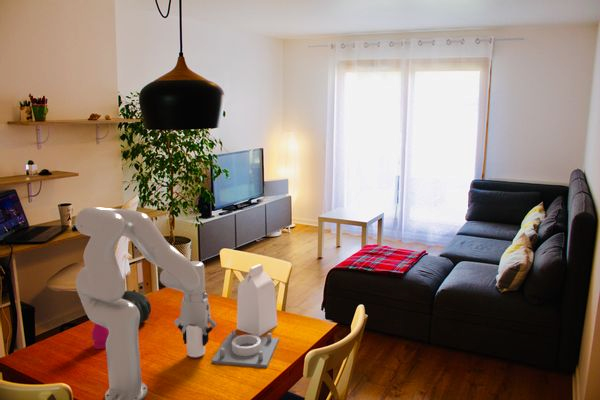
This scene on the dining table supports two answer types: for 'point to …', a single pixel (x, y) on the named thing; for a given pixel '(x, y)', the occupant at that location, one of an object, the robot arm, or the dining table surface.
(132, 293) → the squash
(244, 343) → the carrier plate
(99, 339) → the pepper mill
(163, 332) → the dining table surface
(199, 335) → the can
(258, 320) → the milk
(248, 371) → the dining table surface
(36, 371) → the dining table surface
